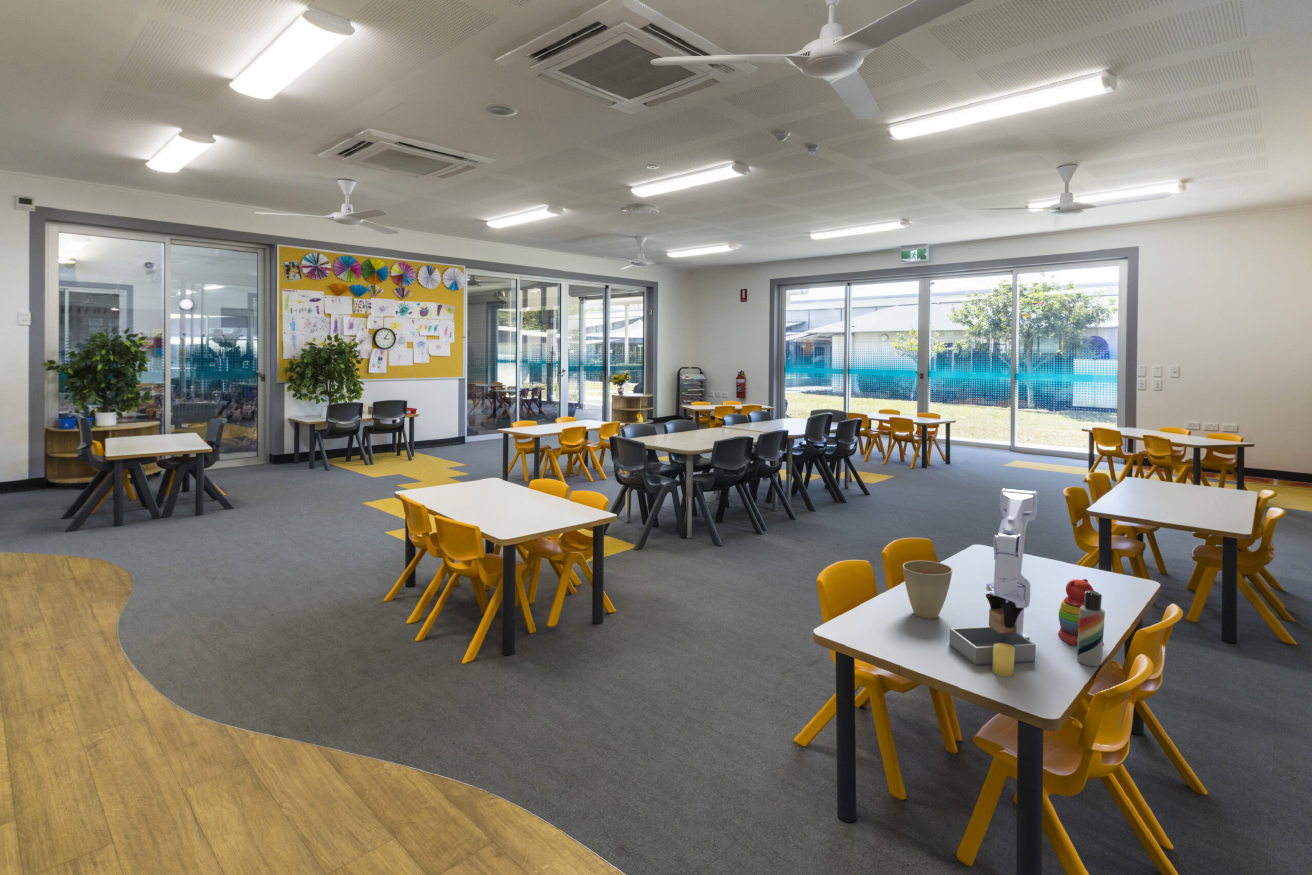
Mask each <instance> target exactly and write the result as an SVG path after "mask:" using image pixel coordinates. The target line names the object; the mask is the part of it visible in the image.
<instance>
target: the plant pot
mask: <svg viewBox="0 0 1312 875" xmlns="http://www.w3.org/2000/svg"><path fill="white" fill-rule="evenodd" d="M902 571H903V572H902V573H903V577H904V578H903V579H904V584H905V589H906V591H907V596H908V600H909V603H910V606H911V609H912V611H913V614H914V615H915V616H916V615H917V616H916V617H919V618H922V619H928V620H929V619H930V620H932V618H933V619H937V618H938V617H939V615H940V614H941V611H942V608H943V607H944V605H945V604H944V603H945V601H946V598H947V595H948V592H949V589H950V585H951V580H952V575H953V568H952V567H951V566H949V565H948V564H945V563H942V562H938V561H937V562H936V561H933V560H931V561H930V560H910V561H906V562H904V563H903V564H902Z"/></svg>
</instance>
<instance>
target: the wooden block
mask: <svg viewBox="0 0 1312 875" xmlns="http://www.w3.org/2000/svg"><path fill="white" fill-rule="evenodd" d="M988 626H989V627H991V628H992V629H994V630H995V631H997V632H998V633H1011V632H1016V630H1017V620H1016V622H1015V625H1014V628H1006V627H1005V618H1004V611H1003V608H1001V609H990V608H989V614H988Z"/></svg>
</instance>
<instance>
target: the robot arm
mask: <svg viewBox="0 0 1312 875" xmlns="http://www.w3.org/2000/svg"><path fill="white" fill-rule="evenodd" d="M1038 501H1039V492H1037V490H1034V491H1033V490H1025V489H1024V490H1023V489H1022V490H1021V489H1011V488H1006V487H1003V488H1002V489H1001V491H1000V495H999V507H1000V512H1001V517H1003V518H1002V520H1001V521H1000V525H999V529H998V532H997V534H994V537H993V543H992V544H993V545H992V547H993V554H994V555H993V560H994V576H993V582H987V583H986V585H985V586H986V587H985V588H986V591H988V592H989V593H985V597H986V599H987V601H988V604H989V606H990V607H989V609H1001V608H1003V611H1004V618H1005V627H1006V628H1014V625H1015V622H1016V620H1017V630H1016V632H1017V633H1018V634H1020V635H1022V636H1023V637H1025V638H1026V639H1028V640H1029V639H1030V636H1029V635H1027V634H1026V633H1025V632H1024V619H1025V617H1024V616H1025V608H1026V609H1027V608H1028V607H1029V606H1030V601H1031V585H1032V584H1031V582H1030V580H1028V579H1027V578H1026V577H1025V576H1024V575H1023V574H1022V569H1023V559H1024V549H1025V540H1026V530H1027V526H1028V525H1029V522H1032V521H1035V520H1036V517H1037V512H1038V511H1037V510H1038V506H1039V505H1038V504H1039V502H1038ZM988 626H989V625H986V627H988Z"/></svg>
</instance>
